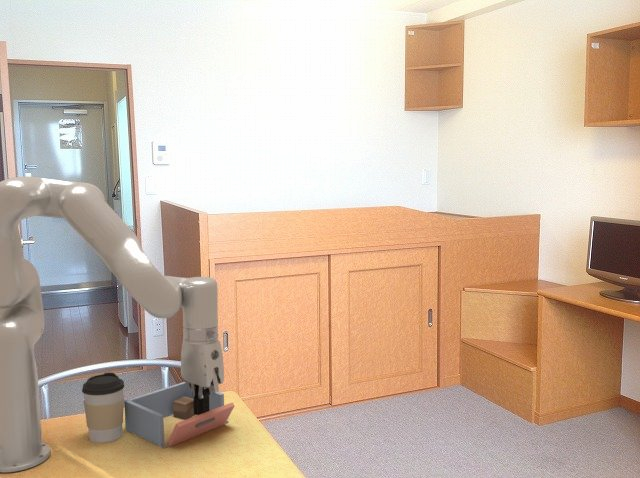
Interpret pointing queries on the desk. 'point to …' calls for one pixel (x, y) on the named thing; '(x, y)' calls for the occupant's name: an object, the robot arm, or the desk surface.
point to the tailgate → (200, 424)
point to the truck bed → (159, 411)
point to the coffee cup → (104, 407)
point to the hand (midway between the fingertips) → (201, 413)
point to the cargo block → (183, 408)
